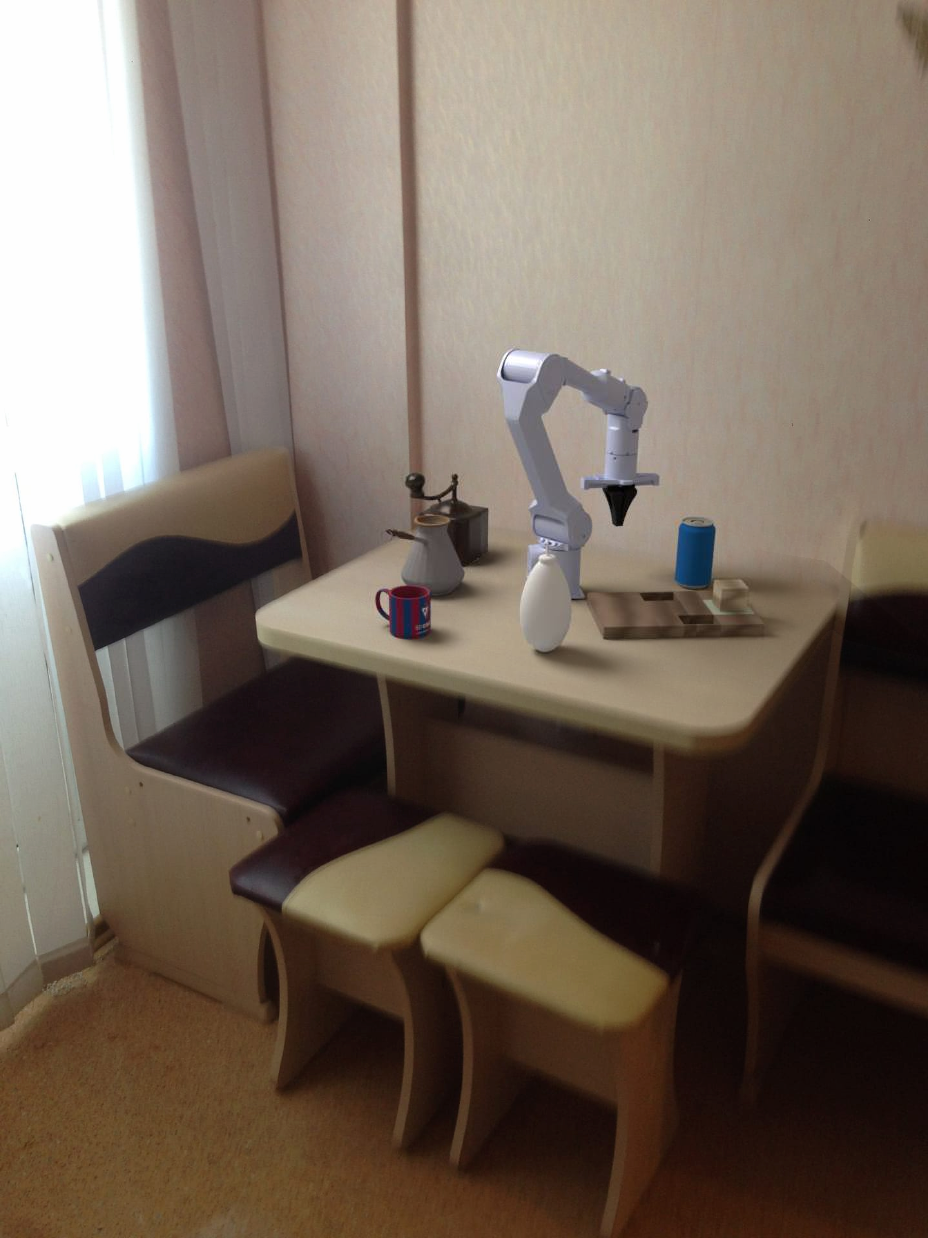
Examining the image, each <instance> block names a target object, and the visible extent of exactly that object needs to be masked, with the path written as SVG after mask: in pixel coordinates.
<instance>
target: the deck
mask: <svg viewBox="0 0 928 1238" xmlns="http://www.w3.org/2000/svg"><path fill="white" fill-rule="evenodd" d="M712 599H713V590H683V591H682V590H677V591H671V590H670V591H669V590H668V591H620V592H619V591H616V592H608V591H607V592H587V593H586V606H587V607H588V609H589V612H590V614H591V616H592V618H593V620H594V622H595V624H596V626H597V628H598V630H599V632H600V635H601V637H602V639H603V640H604V639H605V640H607V639H656V638H657V639H658V638H700V637H701V638H704V637H706V638H707V637H745V636H746V637H749V636H750V637H752V636H753V637H754V636H756V637H757V636H764V630H765V623H764V622H763V620H761V618H759V616H758V615H757V614H756V613H755V612H754V610H753V609H752V608H751V607H750V606H749V605H748V604H747V611H725V612H720V611H719V610H718V609H717V608H716V606H715V605H714V604H713V602H712Z"/></svg>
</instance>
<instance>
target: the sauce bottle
mask: <svg viewBox="0 0 928 1238" xmlns="http://www.w3.org/2000/svg"><path fill="white" fill-rule="evenodd" d="M519 605H520V606H519V619H520V620H519V621H520V628H521V631H522V634H523V636H524V638H525V640H526V641H527V643H528V644H529V645H531V646H532V647H533V649H535V650H538V651H539V652H542V653H547V652H548V653H549V652H551V651H553V650H555V649H556V648H557V647H559V646H560V645H561V644H562V643H563V642H564V639H565V638H566V636H567V634H568V631H569V629H570V625H571V622H572V613H573V612H572V610H573V609H572V599H571V596H570V590H569V587H568V583H567V580H566V578H565V575H564V573H563V571H562V569H561V567H560V566H559V565H558V563H557V562H556V557H555V556H554V555H551V554H549V540H547V546H546V554H543V555H541V556H539V562H538V563H537V564H536V565H535V566H534V568H533V569H532V571H531V573H530V575H529V577H528V579H527V581H526V580H525V584H524V586H523V591H522V594H521V598H520V603H519Z"/></svg>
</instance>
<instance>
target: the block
mask: <svg viewBox="0 0 928 1238" xmlns="http://www.w3.org/2000/svg"><path fill="white" fill-rule="evenodd" d="M749 590H750V589H749V586H747V584H746V583H745V582H744V581H743V580H742V579H739V578H737V579H735V578H734V579H714V580H713V590H712V591H713V599H712V602H713V604H714V605H715V606H716V608H717V609H718V610H719V611H720V612H725V611H747V605H748V601H749V600H748V599H749Z"/></svg>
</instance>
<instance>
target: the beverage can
mask: <svg viewBox="0 0 928 1238" xmlns="http://www.w3.org/2000/svg"><path fill="white" fill-rule="evenodd" d="M714 524H715V522H714V520H713V519H711V518H708V517H702V516H687V517H684V518H682V520H681V523H680V524H679V526H678V534H677V547H676V549H677V550H676V559H675V572H674V573H675V574H674V581H675V582H676V583H677V584H678V585H679V586H680V587H682V588H685V589H690V590H700V589H704V588H706V587H707V586H708V585H710V584H711V583H712V572H713V562H714V554H715V553H714V552H715V542H716V531H717V529H716V527H715V525H714Z"/></svg>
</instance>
